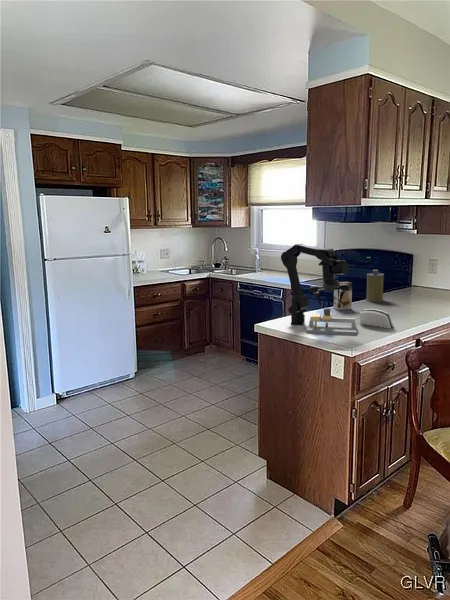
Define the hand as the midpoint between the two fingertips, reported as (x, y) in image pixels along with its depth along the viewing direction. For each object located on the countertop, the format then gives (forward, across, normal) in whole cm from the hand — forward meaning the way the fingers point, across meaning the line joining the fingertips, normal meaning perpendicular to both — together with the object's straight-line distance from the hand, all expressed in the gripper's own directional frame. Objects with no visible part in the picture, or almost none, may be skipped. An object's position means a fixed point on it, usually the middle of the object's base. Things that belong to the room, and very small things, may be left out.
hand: (330, 305), depth 225 cm
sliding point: (+11, -2, +1) cm, 11 cm away
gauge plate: (+13, 0, 0) cm, 13 cm away
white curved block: (+14, +23, +11) cm, 29 cm away
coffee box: (+11, +9, +51) cm, 53 cm away
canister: (+11, +32, +75) cm, 82 cm away
